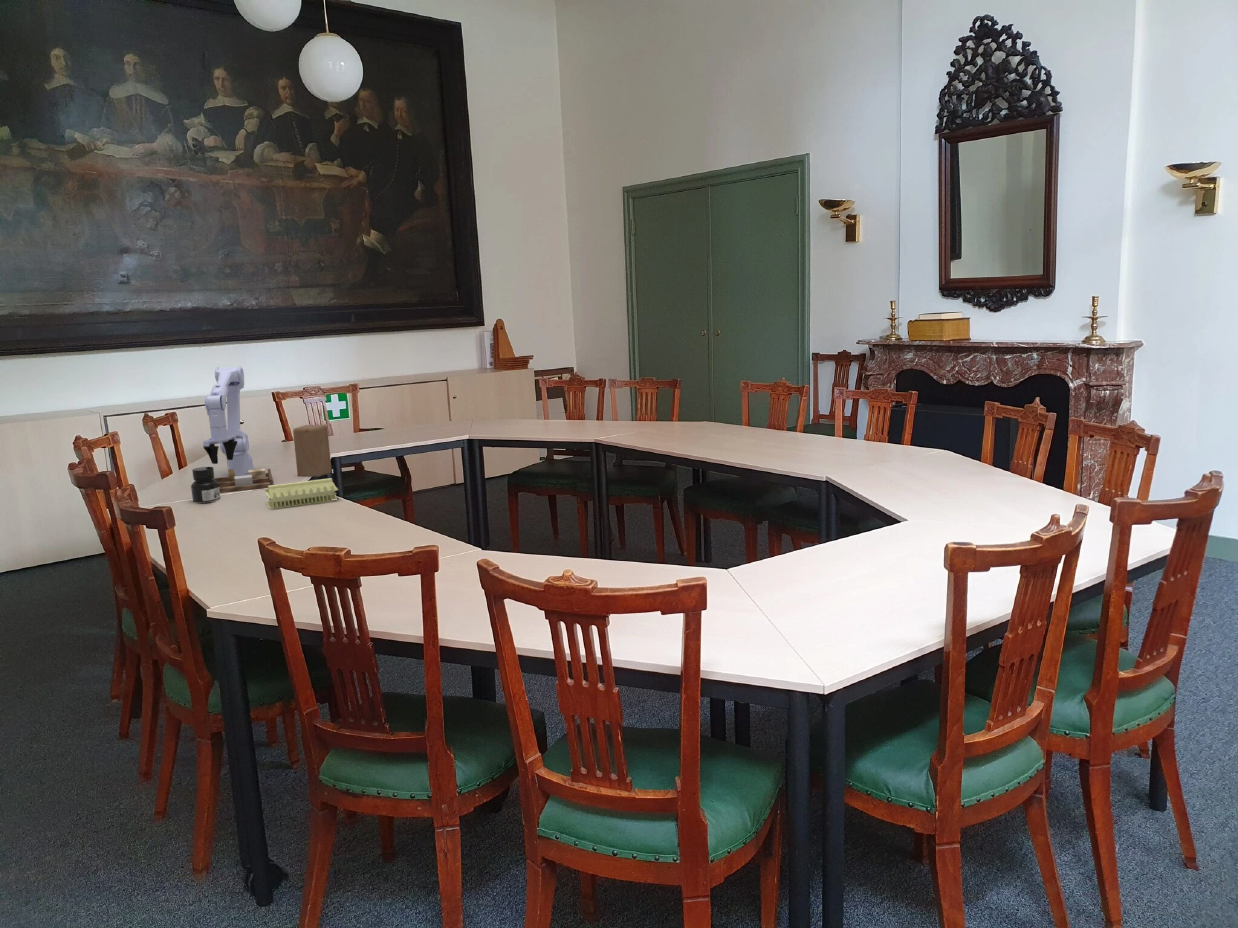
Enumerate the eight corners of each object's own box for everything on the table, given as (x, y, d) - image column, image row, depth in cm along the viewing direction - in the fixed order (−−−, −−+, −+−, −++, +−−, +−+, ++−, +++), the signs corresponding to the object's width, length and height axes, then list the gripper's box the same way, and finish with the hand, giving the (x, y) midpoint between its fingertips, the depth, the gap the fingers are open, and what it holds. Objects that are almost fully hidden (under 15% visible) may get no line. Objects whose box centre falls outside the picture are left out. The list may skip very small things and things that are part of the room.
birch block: (229, 484, 334) (228, 470, 333) (229, 482, 339) (228, 468, 338) (266, 480, 339) (264, 467, 338) (265, 478, 344) (264, 465, 343)
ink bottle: (209, 505, 305) (204, 471, 302) (186, 504, 307) (182, 471, 304) (226, 498, 314) (222, 466, 312) (204, 498, 316) (200, 465, 314)
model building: (335, 493, 318) (334, 474, 317) (342, 501, 307) (340, 481, 305) (262, 503, 307) (260, 483, 306) (266, 511, 295) (264, 490, 294)
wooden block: (319, 478, 344) (314, 428, 341) (296, 478, 346) (291, 428, 343) (332, 473, 354) (328, 424, 350) (310, 472, 356) (305, 424, 352)
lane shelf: (203, 497, 317) (202, 486, 317) (205, 484, 339) (203, 475, 338) (273, 489, 327) (272, 479, 326) (271, 477, 348) (270, 468, 348)
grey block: (235, 489, 325) (234, 478, 324) (235, 486, 330) (234, 476, 329) (253, 487, 327) (251, 477, 327) (252, 485, 332) (251, 474, 331)
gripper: (224, 423, 339) (228, 457, 342) (195, 429, 326) (199, 464, 329) (238, 423, 337) (242, 458, 340) (209, 429, 324) (214, 465, 326)
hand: (222, 461), depth 334 cm, fingers open, 7 cm apart
